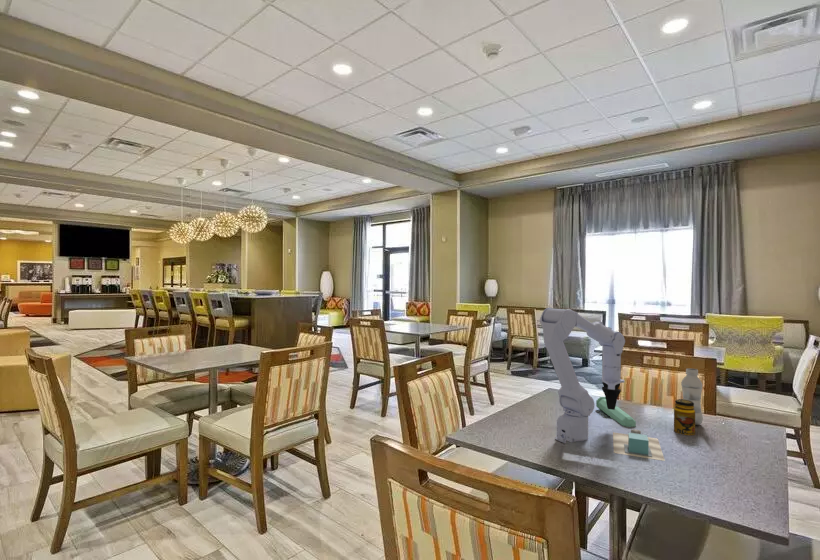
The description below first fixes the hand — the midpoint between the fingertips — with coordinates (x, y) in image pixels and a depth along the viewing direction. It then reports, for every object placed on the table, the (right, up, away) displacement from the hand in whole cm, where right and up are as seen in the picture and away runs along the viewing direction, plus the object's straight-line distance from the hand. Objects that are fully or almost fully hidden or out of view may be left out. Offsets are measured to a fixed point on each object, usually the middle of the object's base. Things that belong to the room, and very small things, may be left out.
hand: (611, 406), depth 146 cm
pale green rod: (+9, -10, +15) cm, 20 cm away
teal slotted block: (-1, -8, -18) cm, 20 cm away
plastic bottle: (+35, -10, +11) cm, 38 cm away
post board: (+1, -9, -14) cm, 17 cm away
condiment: (+24, -10, -1) cm, 26 cm away
